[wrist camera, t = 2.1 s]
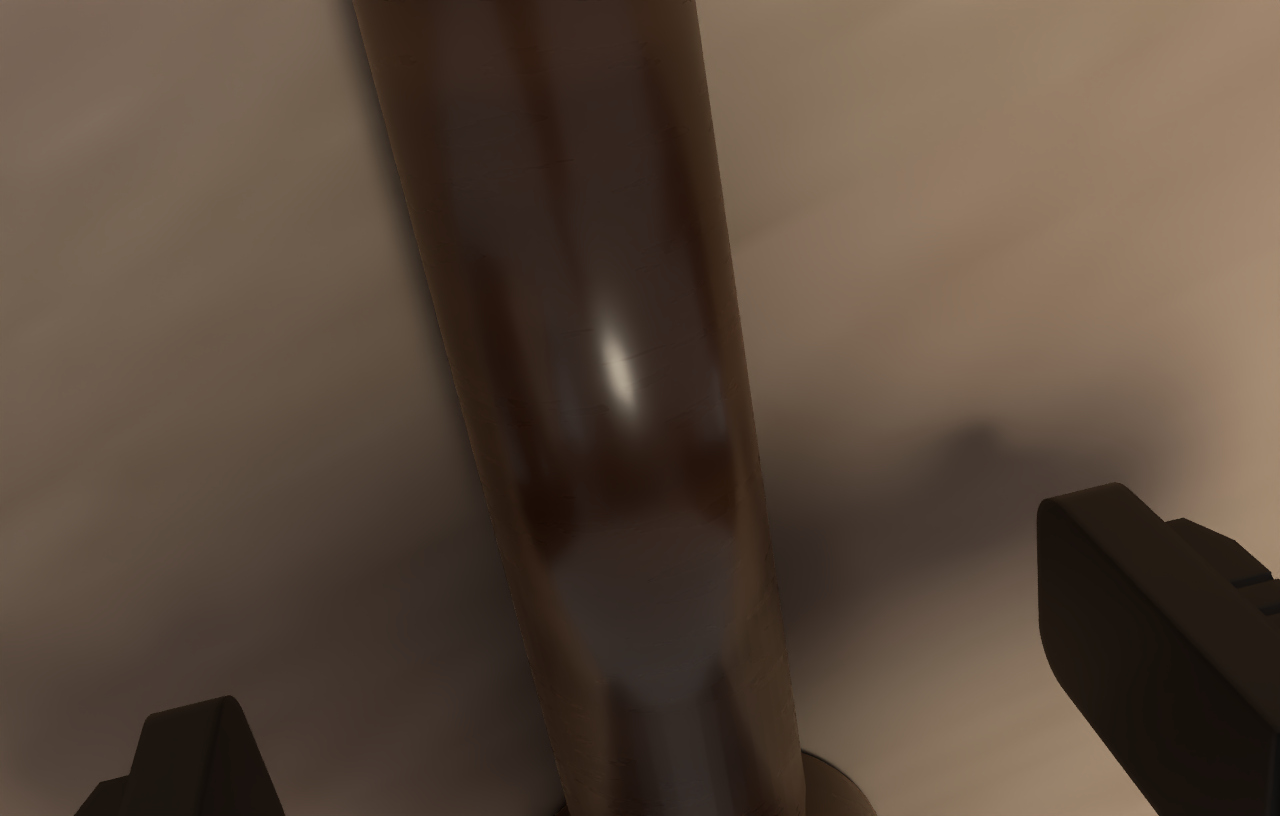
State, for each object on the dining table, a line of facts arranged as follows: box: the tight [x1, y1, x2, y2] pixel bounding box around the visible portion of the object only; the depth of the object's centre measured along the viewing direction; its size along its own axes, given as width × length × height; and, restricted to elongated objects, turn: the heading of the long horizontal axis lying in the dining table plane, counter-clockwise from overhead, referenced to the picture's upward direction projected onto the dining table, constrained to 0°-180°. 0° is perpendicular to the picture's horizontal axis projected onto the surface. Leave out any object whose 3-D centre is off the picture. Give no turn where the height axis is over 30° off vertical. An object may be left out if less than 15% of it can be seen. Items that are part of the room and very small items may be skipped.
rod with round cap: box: [352, 0, 877, 816], centre depth 12 cm, size 16×5×3 cm, turn 10°
